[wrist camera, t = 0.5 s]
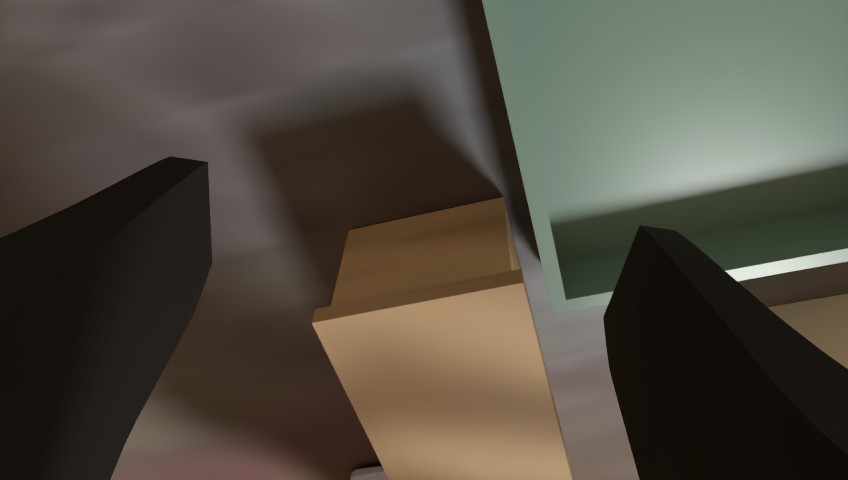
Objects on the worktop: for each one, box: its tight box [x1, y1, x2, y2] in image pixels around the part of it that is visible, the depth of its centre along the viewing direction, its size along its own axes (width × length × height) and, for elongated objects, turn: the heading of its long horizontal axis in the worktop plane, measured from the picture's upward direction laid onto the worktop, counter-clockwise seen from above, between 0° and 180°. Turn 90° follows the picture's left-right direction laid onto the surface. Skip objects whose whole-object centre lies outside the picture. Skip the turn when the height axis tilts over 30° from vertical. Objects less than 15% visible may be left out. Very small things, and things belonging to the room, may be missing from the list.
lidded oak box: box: [312, 197, 573, 480], centre depth 23 cm, size 9×6×5 cm, turn 16°
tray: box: [482, 0, 848, 314], centre depth 19 cm, size 11×11×2 cm
